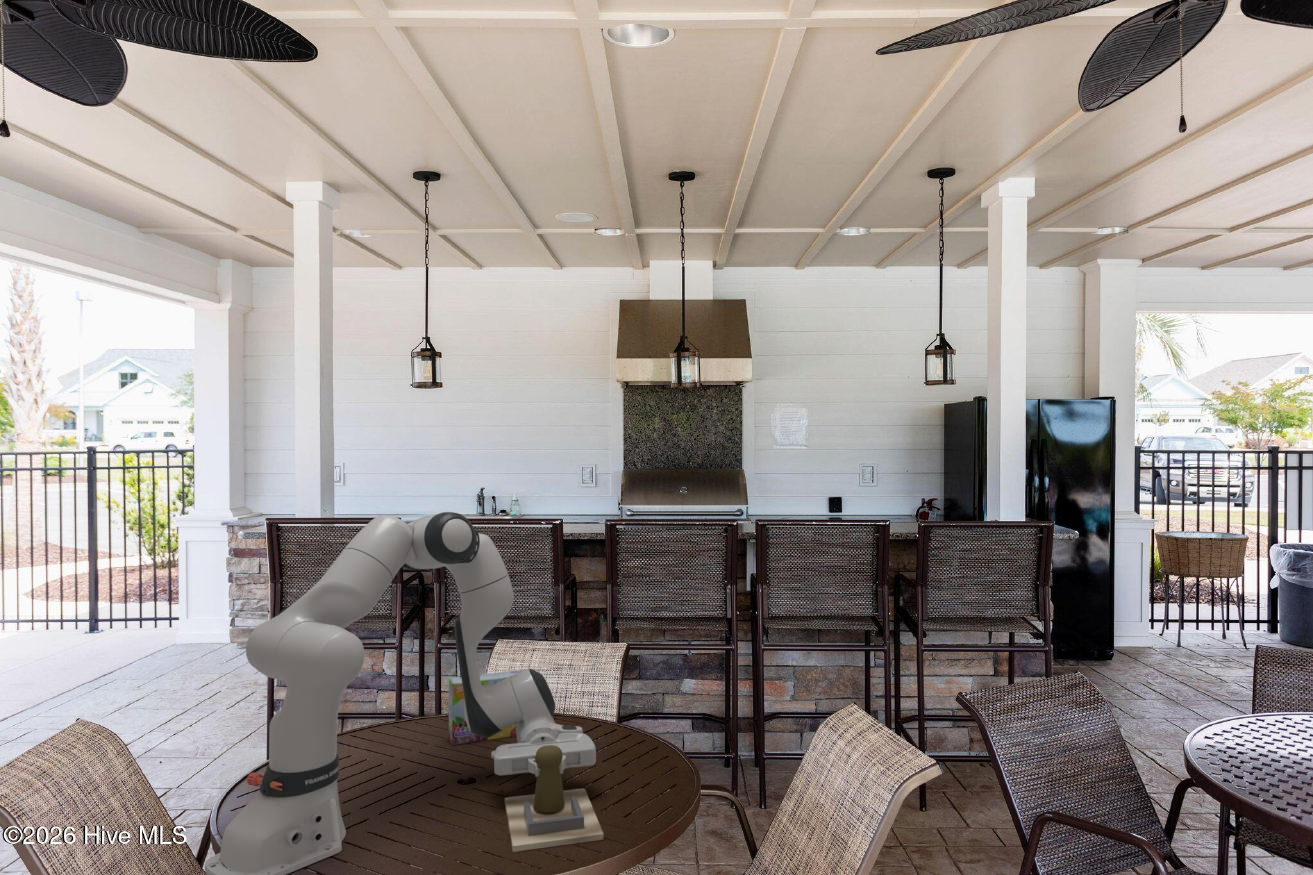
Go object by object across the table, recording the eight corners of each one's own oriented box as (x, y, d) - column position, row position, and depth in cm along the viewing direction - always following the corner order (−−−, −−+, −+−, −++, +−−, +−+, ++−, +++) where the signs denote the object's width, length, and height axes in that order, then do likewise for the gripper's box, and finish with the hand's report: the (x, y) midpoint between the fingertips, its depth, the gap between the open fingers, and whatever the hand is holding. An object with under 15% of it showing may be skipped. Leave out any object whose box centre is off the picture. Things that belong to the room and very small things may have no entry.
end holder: (523, 813, 145) (523, 802, 145) (576, 806, 148) (576, 796, 148) (528, 835, 137) (528, 824, 137) (584, 828, 139) (584, 817, 139)
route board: (504, 802, 152) (504, 797, 152) (584, 793, 156) (584, 788, 156) (512, 851, 133) (512, 846, 133) (603, 839, 137) (603, 833, 137)
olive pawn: (567, 798, 150) (567, 741, 151) (561, 812, 144) (561, 753, 145) (536, 797, 151) (536, 741, 151) (530, 812, 145) (530, 753, 145)
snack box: (452, 746, 183) (452, 683, 183) (448, 739, 188) (448, 677, 188) (538, 733, 192) (538, 672, 192) (532, 726, 197) (532, 666, 197)
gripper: (490, 735, 158) (494, 760, 144) (588, 725, 163) (601, 749, 150) (490, 766, 157) (494, 794, 144) (588, 755, 163) (601, 781, 149)
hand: (549, 771), depth 147 cm, fingers closed on olive pawn, 2 cm apart
